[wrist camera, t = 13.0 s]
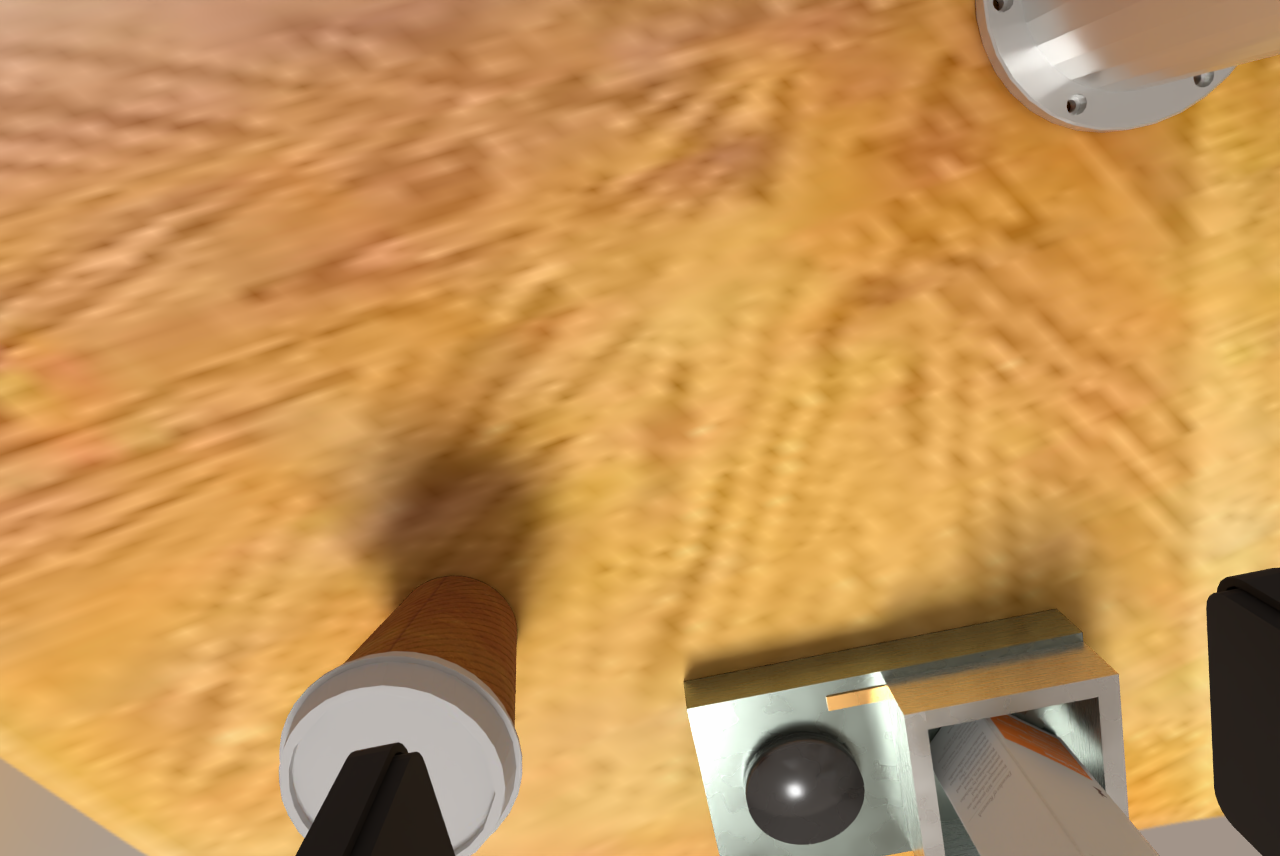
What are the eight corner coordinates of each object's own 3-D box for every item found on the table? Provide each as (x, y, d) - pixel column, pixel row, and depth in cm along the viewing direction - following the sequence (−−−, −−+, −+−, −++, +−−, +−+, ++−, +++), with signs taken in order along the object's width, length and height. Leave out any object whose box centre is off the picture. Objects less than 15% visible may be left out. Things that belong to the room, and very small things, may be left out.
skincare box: (1062, 734, 41) (1230, 934, 30) (1015, 797, 42) (1161, 1015, 31) (963, 686, 41) (1097, 871, 29) (917, 751, 42) (1029, 957, 30)
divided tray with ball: (1056, 608, 42) (1118, 664, 37) (1072, 784, 45) (1131, 859, 40) (683, 681, 43) (691, 746, 38) (721, 850, 46) (733, 932, 41)
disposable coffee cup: (518, 731, 44) (478, 914, 32) (346, 681, 43) (241, 852, 31) (571, 577, 42) (549, 715, 30) (391, 522, 41) (297, 642, 29)
